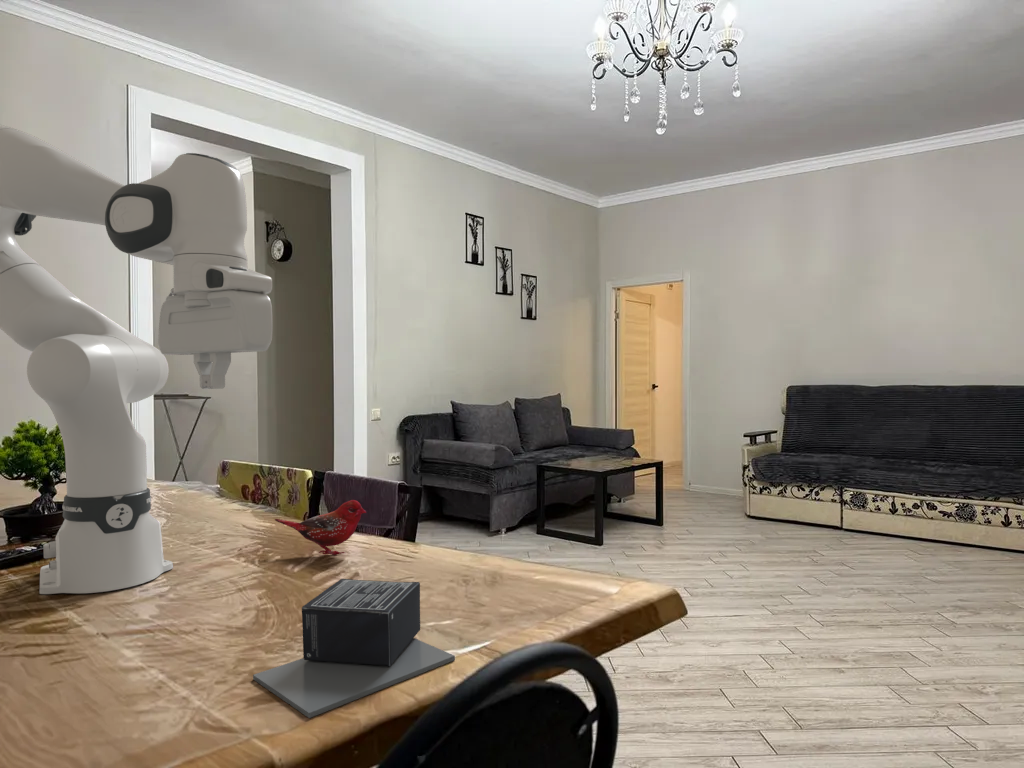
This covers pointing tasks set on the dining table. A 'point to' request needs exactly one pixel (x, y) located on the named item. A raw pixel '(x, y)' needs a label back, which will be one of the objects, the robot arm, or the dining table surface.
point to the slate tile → (345, 678)
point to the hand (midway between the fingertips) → (212, 388)
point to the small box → (361, 621)
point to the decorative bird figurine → (330, 526)
